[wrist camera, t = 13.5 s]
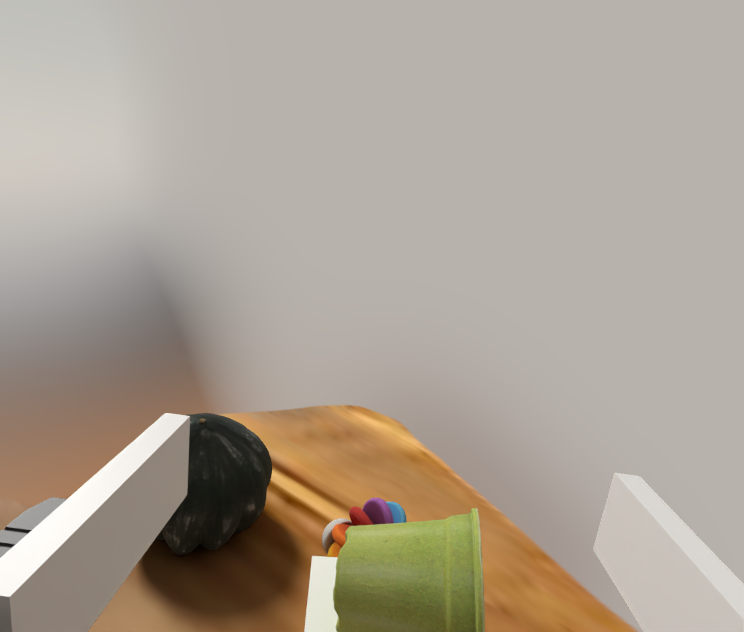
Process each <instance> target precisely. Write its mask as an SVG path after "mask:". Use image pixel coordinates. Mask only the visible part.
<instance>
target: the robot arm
mask: <svg viewBox="0 0 744 632" xmlns="http://www.w3.org/2000/svg"><path fill="white" fill-rule="evenodd" d="M189 433H190V416H185V415H177V414H170V413H165V414H164V415H163V416H161V417H160V418H159V419H158V420H157V421H156V422H155V423H153V424H152V425H151V426H150V427H149V428H148V429H147V430H146V431H144V432H143V433H142V434H141V435H140V436H139V437H138V438H137V439H135V440H134V441H133V442H132V443H131V444H130V445H128V446H127V447H126V448H125V449H124V450H123V451H122V452H120V453H119V454H118V455H117V456H116V457H115V458H114V459H113V460H111V461H110V462H109V463H108V464H107V465H106V466H105V467H103V468H102V469H101V470H100V471H99V472H98V473H97V474H95V475H94V476H93V477H92V478H91V479H90V480H89V481H87V482H86V483H85V484H84V485H83V486H82V487H81V488H79V489H78V490H77V491H76V492H75V493H74V494H73V495H71V496H70V497H69V498H68V499H61V498H53V497H52V498H50V499H48V500H46V501H44V502H42V503H40V504H38V505H36V506H34V507H32V508H30V509H28V510H26V511H25V512H23V513H22V514H21V515H20V516H18V517H17V518H16V519H15V520H13V521H12V522H11V523H10V524H8V525H7V526H6V528H5V530H1V531H0V632H88V631H89V629H90V628H91V626H92V625H93V624H94V622H95V621H96V620H97V618H98V617H99V615H100V614H101V613H102V611H103V610H104V609H105V607H106V606H107V604H108V603H109V602H110V600H111V599H112V598H113V596H114V595H115V593H116V592H117V591H118V589H119V588H120V587H121V585H122V584H123V582H124V581H125V580H126V578H127V577H128V576H129V574H130V573H131V571H132V570H133V569H134V567H135V566H136V565H137V563H138V562H139V560H140V559H141V558H142V556H143V555H144V554H145V552H146V551H147V549H148V548H149V547H150V545H151V544H152V543H153V541H154V540H155V538H156V537H157V536H158V534H159V533H160V531H161V530H162V529H163V527H164V526H165V525H166V523H167V522H168V520H169V519H170V518H171V516H172V515H173V514H174V512H175V511H176V509H177V508H178V507H179V505H180V504H181V503H182V501H183V500H184V498H185V497H186V496H187V489H188V461H189ZM593 550H594V551H595V553H596V555H597V557H598V558H599V560H600V561H601V563H602V565H603V566H604V568H605V570H606V571H607V573H608V575H609V576H610V578H611V579H612V581H613V583H614V584H615V586H616V588H617V589H618V591H619V592H620V594H621V596H622V597H623V599H624V600H625V602H626V604H627V605H628V607H629V609H630V610H631V612H632V614H633V615H634V617H635V619H636V620H637V622H638V623H639V625H640V627H641V628H642V630H643V632H744V584H743V583H742V582H741V581H740V580H739V579H738V578H737V577H736V576H735V575H734V574H733V573H732V572H731V571H730V570H729V568H727V566H726V565H724V563H723V562H722V561H721V560H720V559H719V558H718V557H717V556H716V555H715V554H714V553H713V552H712V551H711V550H710V549H709V548H708V547H707V546H706V545H705V544H704V543H703V542H702V541H701V540H700V539H699V537H698V536H697V535H696V534H695V533H694V532H693V531H692V530H691V529H690V528H689V527H688V526H687V525H686V524H685V523H684V522H683V521H682V520H681V519H680V518H679V517H678V516H677V515H676V514H675V513H674V511H672V509H671V508H670V507H669V506H668V505H667V504H666V503H665V502H664V501H663V500H662V499H661V498H660V497H659V496H658V495H657V494H656V493H655V492H654V491H653V490H652V489H651V488H650V487H649V486H648V485H647V484H646V482H645V481H644V480H643V479H642V478H641V477H640V476H635V475H627V474H619V473H614V476H613V480H612V483H611V487H610V490H609V494H608V498H607V501H606V505H605V508H604V512H603V516H602V519H601V523H600V526H599V530H598V534H597V537H596V541H595V544H594V548H593Z"/></svg>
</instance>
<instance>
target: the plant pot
mask: <svg viewBox="0 0 744 632" xmlns="http://www.w3.org/2000/svg"><path fill="white" fill-rule="evenodd" d="M345 540H346V543H345V544H344V546H343V547H342V548H341V549H340V552H339V555H338V558H337V563H336V577H335V586H334V589H333V601H334V609H335V611H336V613H337V615H338V620H337V624H336V631H337V632H485V626H484V620H485V613H484V586H483V568H482V551H481V534H480V522H479V515H478V510H477V508H472V509H471V513H469V514H463V515H454V516H450V517H448V518H447V519H444V520H433V521H422V522H407V523H392V524H377V525H361V526H350V527H349V528H348V529H347V530H346V532H345Z"/></svg>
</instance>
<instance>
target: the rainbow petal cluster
mask: <svg viewBox="0 0 744 632" xmlns="http://www.w3.org/2000/svg"><path fill="white" fill-rule="evenodd" d="M349 515H350V518H351V521H352V522H351V521H349V520H347V519H336V520H334V521H332V522H330V523H329V524H328V525H327V527H326V528H325V530H324V532H323V536H322V544H323V548H324V551H325V552H326V553H327V557H338V555H339V552H340V549H341V548H342V547H343V546H344V544H345V543H346V540H345V532H346V530H347V529H348V528H349V527H350V526H361V525H377V524H392V523H406V515H405V512H404V510H403V508H402V507H401V506H400V505H399V504H397V503H395V502H385V501H384V500H382V499H380V498H372V499H370V500H368V501H367V502H366V503H365V505H364V507H363V509H361V508H359V507H352V508H351V509H350V512H349Z"/></svg>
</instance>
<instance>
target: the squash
mask: <svg viewBox="0 0 744 632" xmlns="http://www.w3.org/2000/svg"><path fill="white" fill-rule="evenodd" d="M185 416H190V433H189V461H188V489H187V496H186V497H185V498H184V500H183V501H182V503H181V504H180V505H179V507H178V508H177V509H176V511H175V512H174V514H173V515H172V516H171V518H170V519H169V520H168V522H167V523H166V525H165V526H164V527H163V529H162V530H161V531H160V533H159V534H158V536H157V537H156V538H155V540H166V542H167V544H168V546H169V547H170V549H171V550H172V551H173V552H174V553H176V554H178V555H186V554H188V553H190V552H192V551H193V550H194V549H195V548H196V547H197V546H198V545H199V544H201V545H202V547H204V548H206V549H208V550H210V551H212V550H217V549H218V548H220V547H221V546H223V545H224V544H226V542H227V541H228V540H229V539H230V538H231V536H232V535H233V533H239V532H241V531H244V530H245V529H247V528H249V527H250V526H251V525H252V524H253V523H254V522H255V521H256V520H257V519H258V518H259V516H260V515H261V513H262V511H263V509H264V506H265V501H266V491H267V487H268V485H269V482H270V479H271V474H272V462H271V458H270V455H269V452H268V450H267V448H266V446H265V445H264V444H263V442H262V441H261V440H260V438H259V437H258V436H257V435H256V434H254V433H253V432H252V431H250V430H249V429H247V428H246V427H245V426H244V425H242V424H240V423H238V422H236V421H234V420H232V419H230V418H227V417H224V416H220V415H215V414H209V413H202V414H193V415H185Z"/></svg>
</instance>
